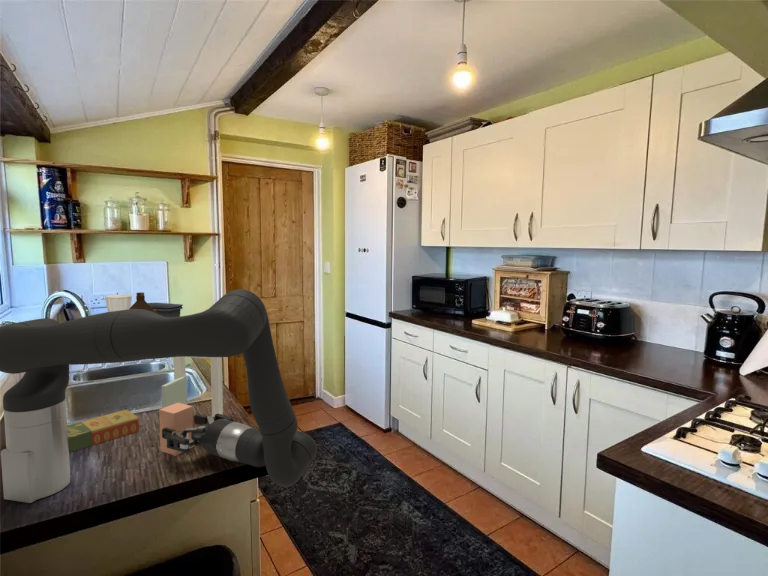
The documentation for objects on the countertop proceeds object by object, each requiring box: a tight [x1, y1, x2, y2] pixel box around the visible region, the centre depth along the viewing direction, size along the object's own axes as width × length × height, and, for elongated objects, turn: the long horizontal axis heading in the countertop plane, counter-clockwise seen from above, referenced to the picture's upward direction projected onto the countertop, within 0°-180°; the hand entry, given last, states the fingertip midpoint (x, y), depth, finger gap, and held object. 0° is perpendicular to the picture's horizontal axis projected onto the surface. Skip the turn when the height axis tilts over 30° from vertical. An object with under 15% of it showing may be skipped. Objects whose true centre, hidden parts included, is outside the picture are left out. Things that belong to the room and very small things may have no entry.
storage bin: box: [147, 302, 184, 317], centre depth 232 cm, size 21×16×14 cm
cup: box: [104, 293, 133, 312], centre depth 211 cm, size 12×12×22 cm
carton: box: [67, 409, 140, 454], centre depth 104 cm, size 8×16×4 cm, turn 140°
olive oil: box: [130, 292, 154, 312], centre depth 196 cm, size 11×11×25 cm
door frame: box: [173, 357, 224, 417], centre depth 114 cm, size 2×13×20 cm, turn 79°
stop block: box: [158, 403, 195, 457], centre depth 99 cm, size 5×5×10 cm
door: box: [161, 376, 188, 409], centre depth 110 cm, size 1×8×12 cm, turn 169°
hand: (179, 425), depth 98 cm, fingers open, 8 cm apart
